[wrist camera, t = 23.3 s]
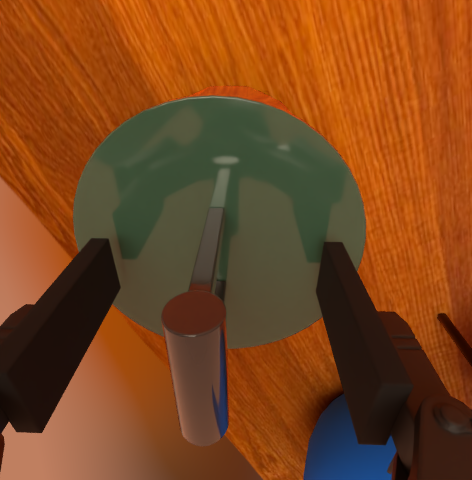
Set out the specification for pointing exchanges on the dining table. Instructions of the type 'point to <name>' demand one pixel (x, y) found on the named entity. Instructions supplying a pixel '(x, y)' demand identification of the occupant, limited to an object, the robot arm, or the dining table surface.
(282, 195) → the lid
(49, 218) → the dining table surface
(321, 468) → the vase
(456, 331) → the planter
